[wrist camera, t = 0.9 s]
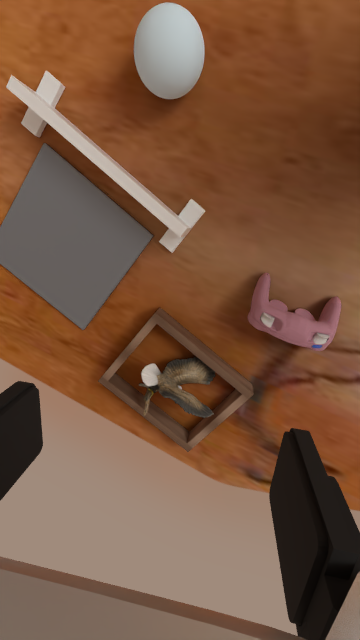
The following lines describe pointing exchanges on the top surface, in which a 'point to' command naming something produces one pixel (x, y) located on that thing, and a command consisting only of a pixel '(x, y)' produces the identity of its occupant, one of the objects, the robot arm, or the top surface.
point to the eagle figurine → (178, 383)
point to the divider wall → (99, 156)
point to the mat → (68, 238)
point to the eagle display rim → (159, 416)
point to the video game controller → (293, 319)
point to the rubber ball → (169, 50)
